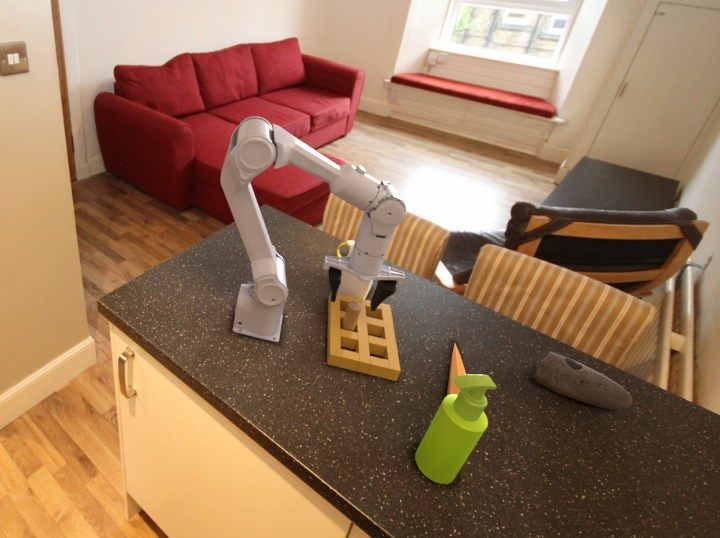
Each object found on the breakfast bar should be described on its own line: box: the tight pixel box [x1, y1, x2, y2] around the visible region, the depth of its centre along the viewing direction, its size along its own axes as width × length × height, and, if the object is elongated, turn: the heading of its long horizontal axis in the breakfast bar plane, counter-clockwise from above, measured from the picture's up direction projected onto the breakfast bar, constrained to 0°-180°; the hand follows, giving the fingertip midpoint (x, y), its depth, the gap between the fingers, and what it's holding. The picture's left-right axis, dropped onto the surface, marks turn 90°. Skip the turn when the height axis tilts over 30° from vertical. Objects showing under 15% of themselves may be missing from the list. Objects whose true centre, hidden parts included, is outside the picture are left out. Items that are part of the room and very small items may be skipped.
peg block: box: [326, 292, 401, 382], centre depth 91 cm, size 13×18×3 cm
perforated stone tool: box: [534, 351, 634, 411], centre depth 82 cm, size 15×5×7 cm, turn 59°
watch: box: [335, 239, 356, 257], centre depth 113 cm, size 6×3×6 cm, turn 59°
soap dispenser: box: [414, 373, 498, 485], centre depth 65 cm, size 6×7×20 cm
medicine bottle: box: [337, 244, 374, 300], centre depth 102 cm, size 7×7×12 cm
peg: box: [340, 301, 362, 332], centre depth 91 cm, size 3×3×8 cm
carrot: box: [446, 342, 467, 396], centre depth 84 cm, size 20×4×4 cm, turn 155°
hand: (352, 303), depth 88 cm, fingers open, 7 cm apart
